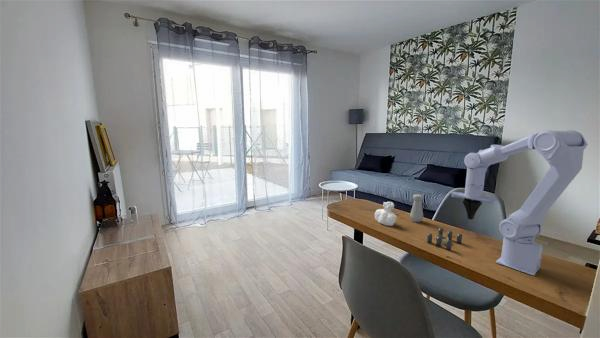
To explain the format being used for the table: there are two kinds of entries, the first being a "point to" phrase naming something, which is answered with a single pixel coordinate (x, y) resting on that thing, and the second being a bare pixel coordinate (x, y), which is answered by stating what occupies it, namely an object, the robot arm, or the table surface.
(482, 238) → the table surface
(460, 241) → the black spacers
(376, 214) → the duck figurine
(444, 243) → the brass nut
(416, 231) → the table surface
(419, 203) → the salt shaker
